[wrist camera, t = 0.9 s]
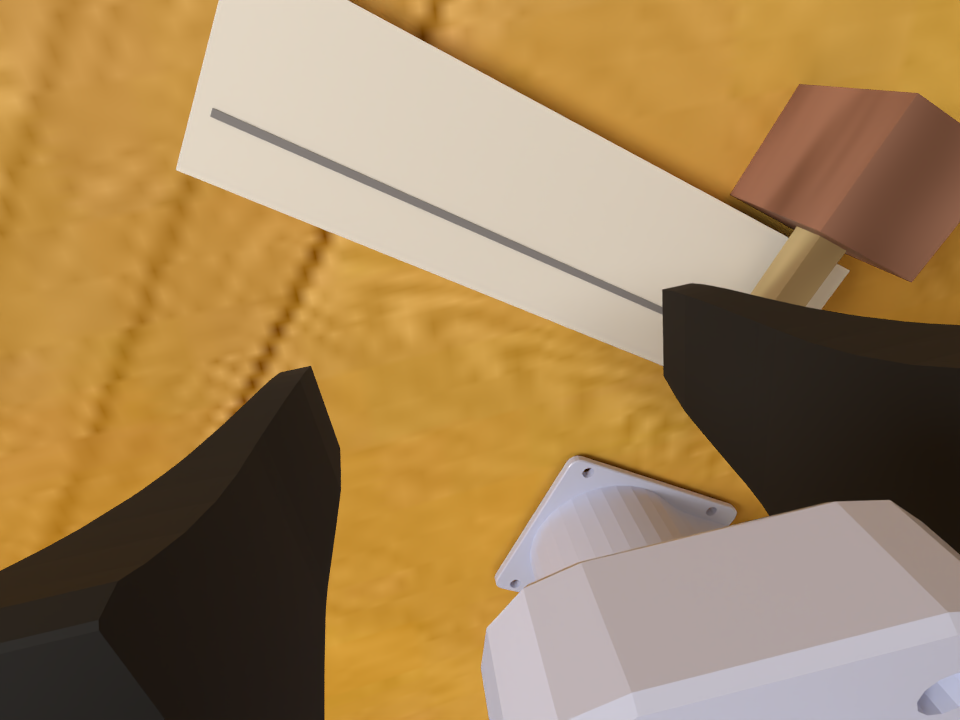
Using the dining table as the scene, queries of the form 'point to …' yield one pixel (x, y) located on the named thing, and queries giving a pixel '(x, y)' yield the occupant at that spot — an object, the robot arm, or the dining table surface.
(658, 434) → the dining table surface
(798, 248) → the chocolate popsicle
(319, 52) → the board
